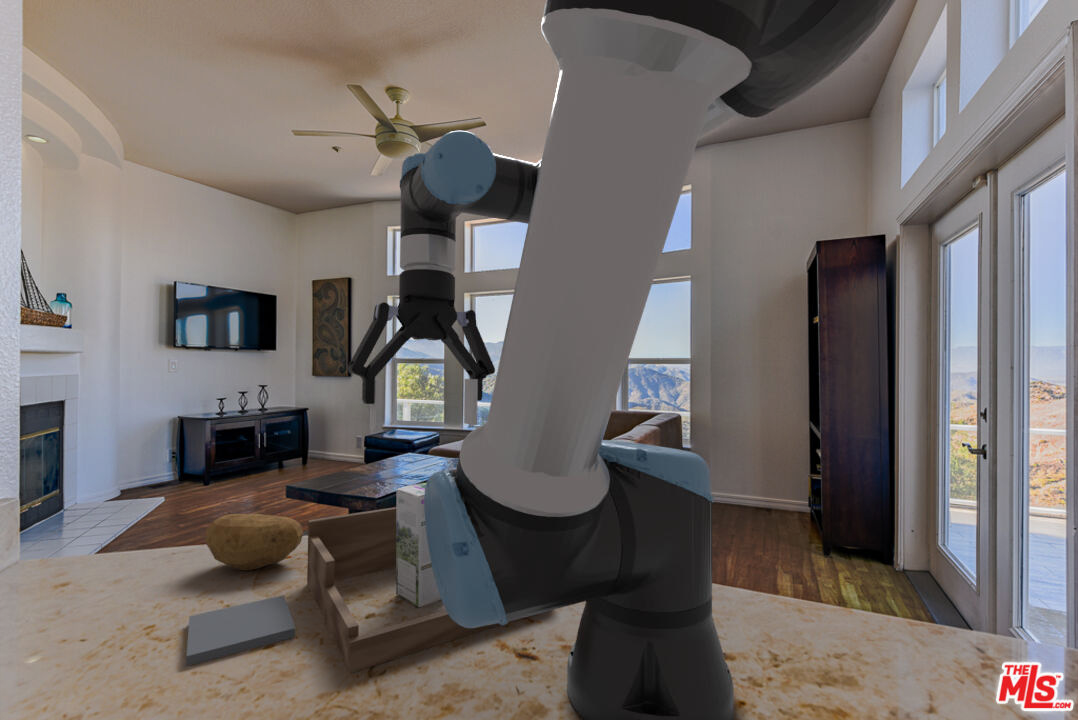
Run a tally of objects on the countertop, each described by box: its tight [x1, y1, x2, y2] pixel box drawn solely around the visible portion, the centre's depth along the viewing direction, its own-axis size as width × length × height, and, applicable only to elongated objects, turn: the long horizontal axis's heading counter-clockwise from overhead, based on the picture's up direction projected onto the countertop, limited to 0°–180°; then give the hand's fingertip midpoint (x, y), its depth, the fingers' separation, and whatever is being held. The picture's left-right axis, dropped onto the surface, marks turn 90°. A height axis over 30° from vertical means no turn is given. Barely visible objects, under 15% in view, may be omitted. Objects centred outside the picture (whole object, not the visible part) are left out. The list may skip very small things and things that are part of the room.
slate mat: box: [186, 594, 296, 667], centre depth 57 cm, size 10×10×1 cm
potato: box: [204, 513, 304, 571], centre depth 76 cm, size 10×14×8 cm
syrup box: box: [395, 482, 442, 608], centre depth 66 cm, size 6×6×14 cm
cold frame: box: [306, 506, 501, 674], centre depth 66 cm, size 25×25×9 cm
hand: (425, 427), depth 67 cm, fingers open, 13 cm apart
